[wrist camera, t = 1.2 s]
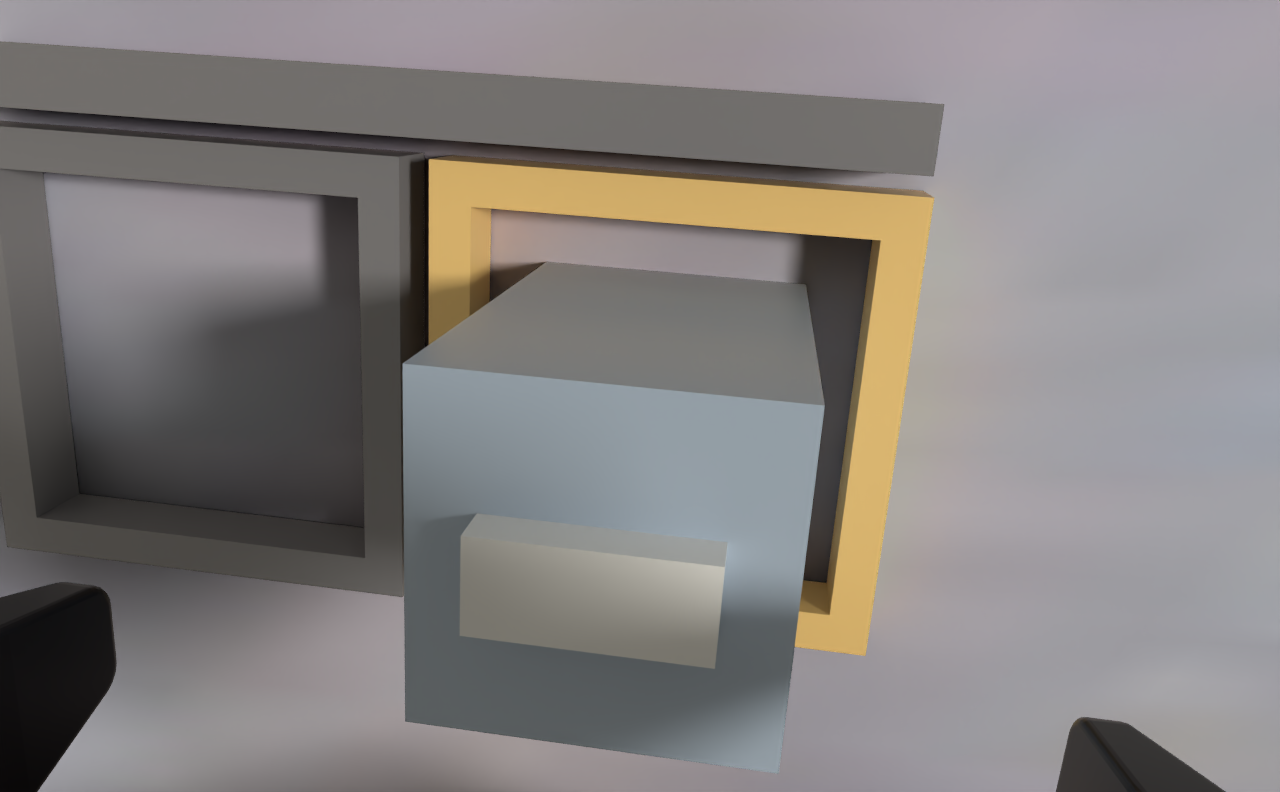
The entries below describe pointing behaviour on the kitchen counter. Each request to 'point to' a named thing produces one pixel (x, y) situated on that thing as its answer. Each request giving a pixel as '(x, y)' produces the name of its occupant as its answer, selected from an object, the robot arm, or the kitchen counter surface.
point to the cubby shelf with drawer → (436, 265)
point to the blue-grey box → (612, 513)
